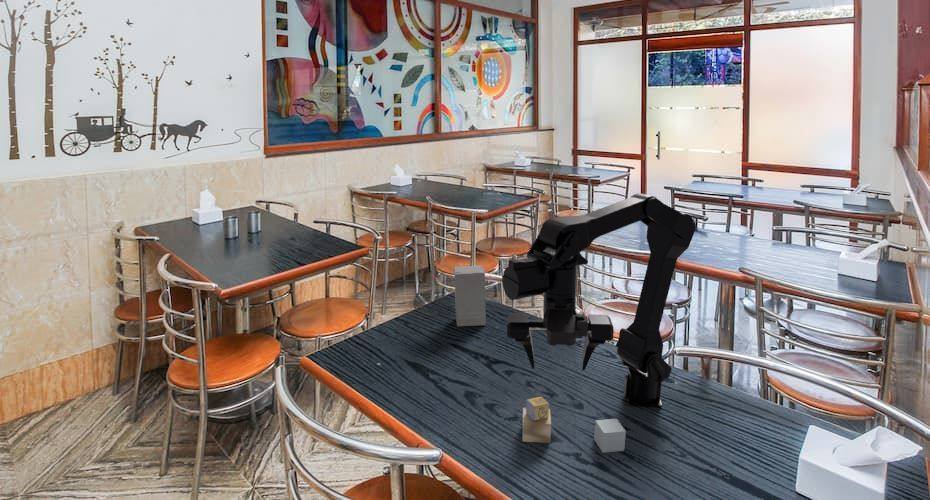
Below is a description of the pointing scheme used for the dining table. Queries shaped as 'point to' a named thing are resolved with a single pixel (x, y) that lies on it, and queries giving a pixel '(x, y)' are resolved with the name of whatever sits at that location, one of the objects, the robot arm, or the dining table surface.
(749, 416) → the dining table surface
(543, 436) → the beech block
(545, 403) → the alphabet block
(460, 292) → the skincare box
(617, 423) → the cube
